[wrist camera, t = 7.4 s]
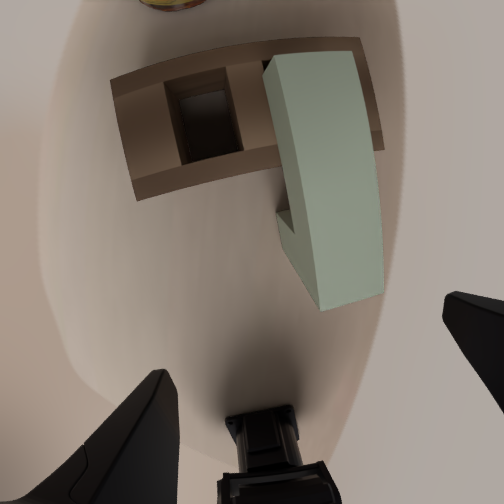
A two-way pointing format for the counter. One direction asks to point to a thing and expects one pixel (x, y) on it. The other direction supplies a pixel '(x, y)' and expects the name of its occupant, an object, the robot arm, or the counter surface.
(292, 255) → the green block
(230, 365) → the counter surface
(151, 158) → the brown cubby organizer
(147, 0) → the sauce bottle
